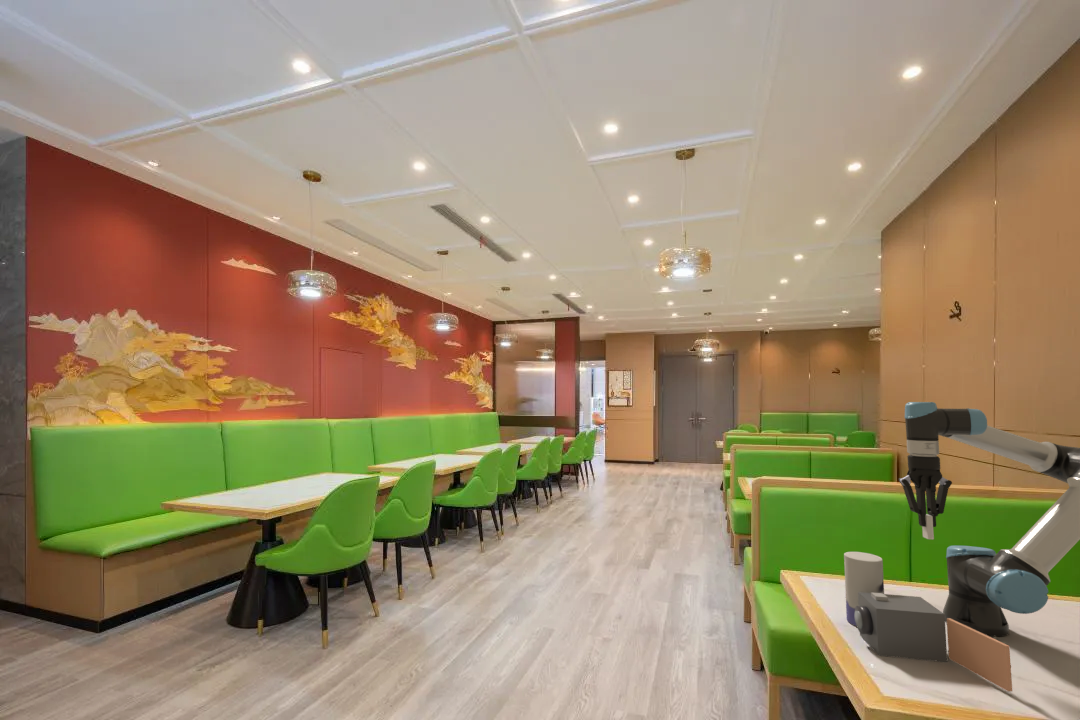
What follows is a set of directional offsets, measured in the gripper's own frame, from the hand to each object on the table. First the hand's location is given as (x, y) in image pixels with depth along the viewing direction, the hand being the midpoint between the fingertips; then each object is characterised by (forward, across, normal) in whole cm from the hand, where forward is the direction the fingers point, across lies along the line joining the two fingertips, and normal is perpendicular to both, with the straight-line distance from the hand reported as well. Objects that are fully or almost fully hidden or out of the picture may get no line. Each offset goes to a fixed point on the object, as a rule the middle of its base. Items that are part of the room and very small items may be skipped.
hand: (928, 538), depth 145 cm
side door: (+27, 0, -20) cm, 34 cm away
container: (+28, -14, +8) cm, 33 cm away
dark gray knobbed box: (+28, -13, -6) cm, 32 cm away
